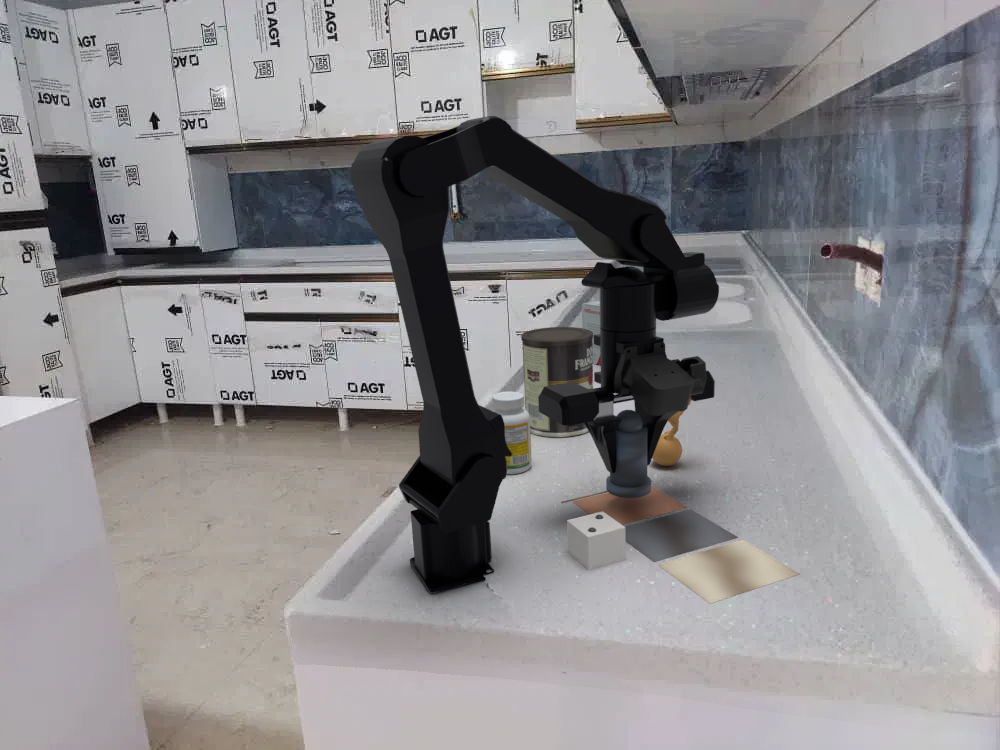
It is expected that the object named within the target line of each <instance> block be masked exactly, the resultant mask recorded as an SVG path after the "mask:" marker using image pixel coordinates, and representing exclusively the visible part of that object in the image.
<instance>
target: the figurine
mask: <svg viewBox="0 0 1000 750" xmlns="http://www.w3.org/2000/svg"><path fill="white" fill-rule="evenodd" d="M691 403H692V400H690V401H689V404H688V407H689V406H690V405H691ZM685 412H686V410H684V411H679V412H677V413H676V414H675V415H673V416H672V417H671V418H669V420H668V421H667V422H668V423H670V425H671V427H672V428H671V429H670V430H668V431H664V433H662V434H661V436H660V439H659V441H658V444H657V447H656V449H655V452H654V454H653V457H652V460H653V461H654V462H655V463H656V464H658V465H660V466H662V467H663V466H664V467H668V466H673V465H675V464H676V463H678V461H680V459H681V457H682V456H683V446H682V443H681V441H680V440H679V438H677V437H676V436H675V435H676V434H677V432H678V431H679V426H680V425H679V423H680V421H679V419H680V417H681V416H683V414H684V413H685Z"/></svg>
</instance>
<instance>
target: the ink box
mask: <svg viewBox="0 0 1000 750" xmlns="http://www.w3.org/2000/svg"><path fill="white" fill-rule="evenodd" d="M581 320H582V324H581V325H582V327H581V328H583V329H587V330H590V331H592V332H593V338H592V353H593V363H595V364H594V365H597V364H599V365H598V366H601V360H600V346H598V345H595V344H594V335H597V334H600V300H599V301H598V300H597V301H589V302H583V303H582V304H581Z"/></svg>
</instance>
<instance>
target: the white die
mask: <svg viewBox="0 0 1000 750" xmlns="http://www.w3.org/2000/svg"><path fill="white" fill-rule="evenodd" d="M566 529H567V530H566V532H567V533H566V536H567V538H566V539H567V553H569V554H570V555H571V556H572V557H574V558H575V559H576V560H577V561H578V562H579V563H580V564H581V565H583V566H584V567H585V568H586V569H587V570H588V571H590V570H594V569H597V568H601V567H604V566H608V565H611V564H615V563H619V562H623V561H625V560H626V559H627V558H626V548H627V547H626V541H625V525H624V524H623V525H621V524H620V523H618V522H617V521H616V520H614V519H613V518H611V517H610V516H609V515H607V514H606V513H604V512H603V511H602V512H598V513H594V514H586V515H583V516H579V517H575V518H571V519H567V520H566Z"/></svg>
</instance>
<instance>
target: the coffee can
mask: <svg viewBox="0 0 1000 750" xmlns="http://www.w3.org/2000/svg"><path fill="white" fill-rule="evenodd" d="M520 338H521V341H522V359H523V360H522V361H523V362H522V363H523V384H524V385H523V386H524V387H523V388H524V406H525V408H524V409H525V410H526V411H527V412H528V413H529V415H530V431H531V434H533V435H536V436H540V437H544V438H545V437H546V438H547V437H548V438H569V437H576V436H580V435H581V436H582V435H584V434H587V433H589V431H588V429H587V428H586V426H585V424H584V423H581V424H576V425H571V426H568V425H561V424H559V423H558V422H556V421H554V420H552V419H551V418H549V417H547V416H545V415H544V414H542V413H540V412H539V400H538V397H539V395H540V393H541V392H542V390H543V388H544V387H545V386H551V385H557V384H563V383H569V382H574V383H576V384H579V385H581V386H583V387H585V388H587V389H594V374H593V373H594V364H593V353H592V338H593V332H592V331H590V330H587V329H583V328H582V327H576V326H575V327H573V326H553V327H541V328H535V329H530V330H528V331H525V332H522V333H521V336H520Z"/></svg>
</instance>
